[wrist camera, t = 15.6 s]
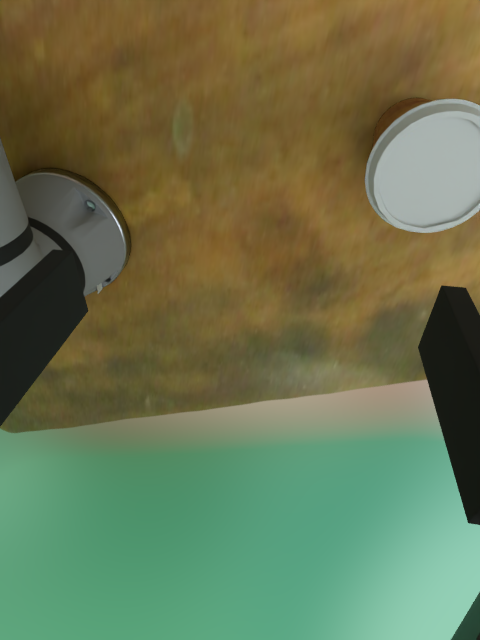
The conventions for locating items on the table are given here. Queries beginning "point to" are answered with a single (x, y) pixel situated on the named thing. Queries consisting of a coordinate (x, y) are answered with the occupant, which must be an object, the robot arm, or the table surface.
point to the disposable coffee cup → (426, 164)
